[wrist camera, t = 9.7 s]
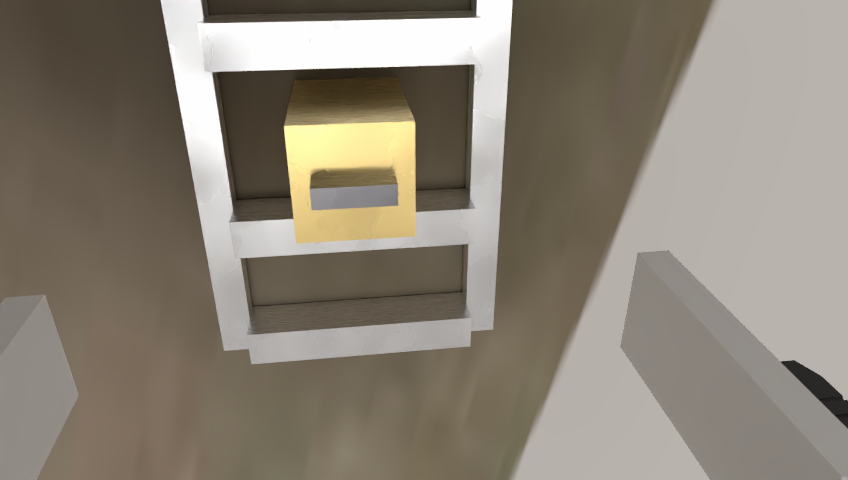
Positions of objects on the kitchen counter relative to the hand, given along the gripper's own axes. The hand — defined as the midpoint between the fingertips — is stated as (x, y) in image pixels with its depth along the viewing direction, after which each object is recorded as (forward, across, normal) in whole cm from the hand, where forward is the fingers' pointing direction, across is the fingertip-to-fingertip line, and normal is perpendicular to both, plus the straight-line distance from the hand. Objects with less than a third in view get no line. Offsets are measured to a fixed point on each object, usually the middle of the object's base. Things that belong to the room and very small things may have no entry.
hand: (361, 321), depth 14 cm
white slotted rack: (+16, 0, -1) cm, 16 cm away
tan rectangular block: (+16, 0, 0) cm, 16 cm away
